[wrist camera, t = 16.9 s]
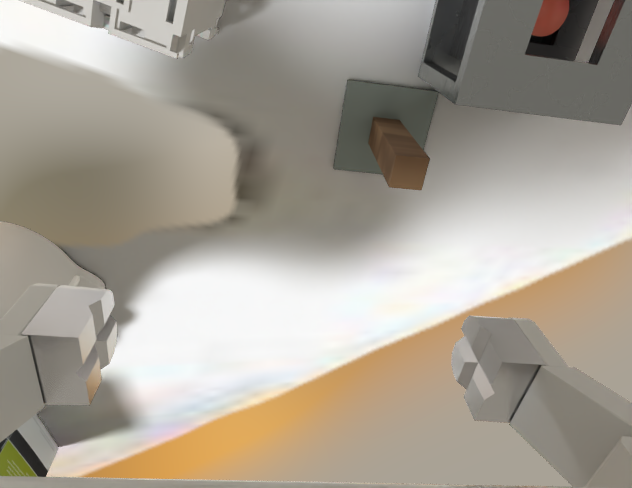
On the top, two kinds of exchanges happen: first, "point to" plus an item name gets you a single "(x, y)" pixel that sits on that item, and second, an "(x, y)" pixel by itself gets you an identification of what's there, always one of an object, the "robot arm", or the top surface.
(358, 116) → the pad
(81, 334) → the robot arm
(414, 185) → the brown wooden bar
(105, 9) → the circuit breaker
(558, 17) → the button
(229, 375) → the top surface
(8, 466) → the tea box
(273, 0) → the top surface
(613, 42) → the box
